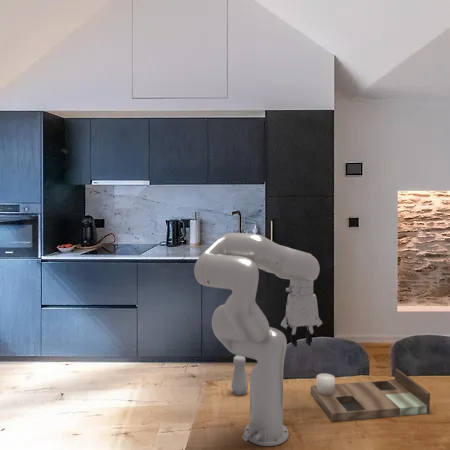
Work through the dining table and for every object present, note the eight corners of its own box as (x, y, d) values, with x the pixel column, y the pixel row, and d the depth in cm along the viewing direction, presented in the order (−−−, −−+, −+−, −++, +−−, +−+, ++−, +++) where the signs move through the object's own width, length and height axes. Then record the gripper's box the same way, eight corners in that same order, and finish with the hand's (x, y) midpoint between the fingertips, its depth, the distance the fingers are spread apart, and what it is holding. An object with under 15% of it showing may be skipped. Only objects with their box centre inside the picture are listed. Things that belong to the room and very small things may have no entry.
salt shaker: (248, 396, 158) (248, 359, 157) (231, 396, 158) (231, 359, 157) (247, 389, 163) (247, 353, 162) (231, 389, 164) (231, 353, 163)
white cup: (330, 397, 151) (330, 382, 151) (313, 392, 155) (313, 377, 154) (337, 390, 156) (337, 376, 156) (321, 386, 160) (321, 372, 159)
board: (332, 421, 140) (332, 400, 140) (310, 392, 160) (310, 374, 159) (429, 413, 145) (430, 393, 144) (397, 386, 165) (397, 368, 164)
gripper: (279, 294, 147) (279, 350, 148) (330, 292, 149) (329, 347, 150) (273, 289, 154) (274, 342, 155) (322, 287, 156) (321, 339, 158)
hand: (301, 344), depth 153 cm, fingers open, 4 cm apart
